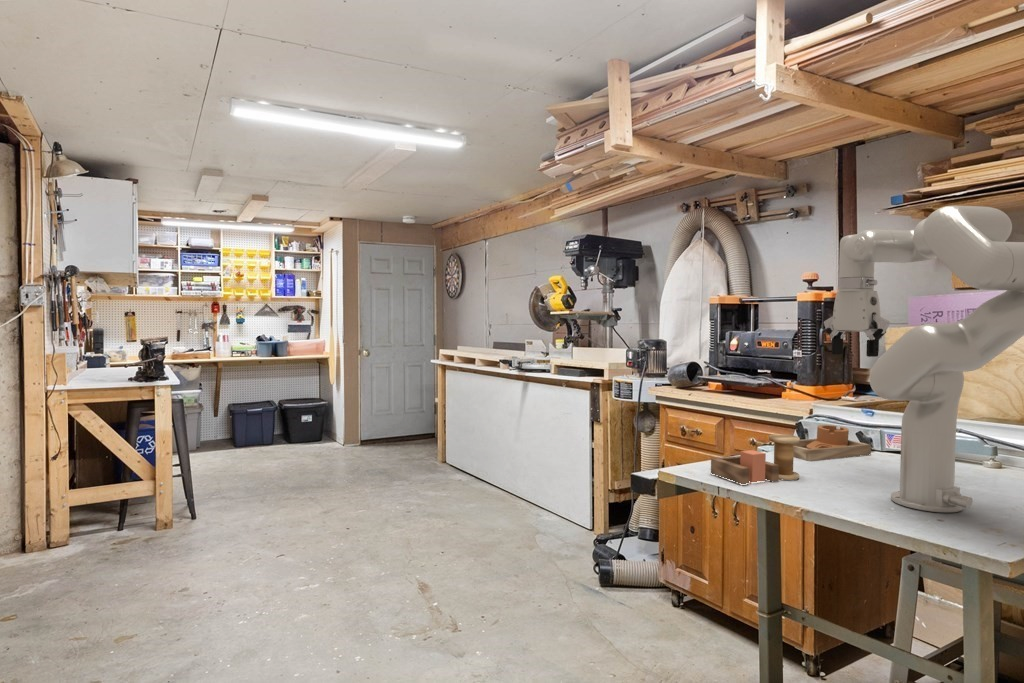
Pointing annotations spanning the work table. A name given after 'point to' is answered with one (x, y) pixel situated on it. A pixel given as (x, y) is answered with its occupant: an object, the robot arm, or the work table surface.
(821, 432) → the bracket
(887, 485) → the work table surface
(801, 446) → the frame
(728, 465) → the notched board
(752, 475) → the tab
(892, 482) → the work table surface
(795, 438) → the spool
